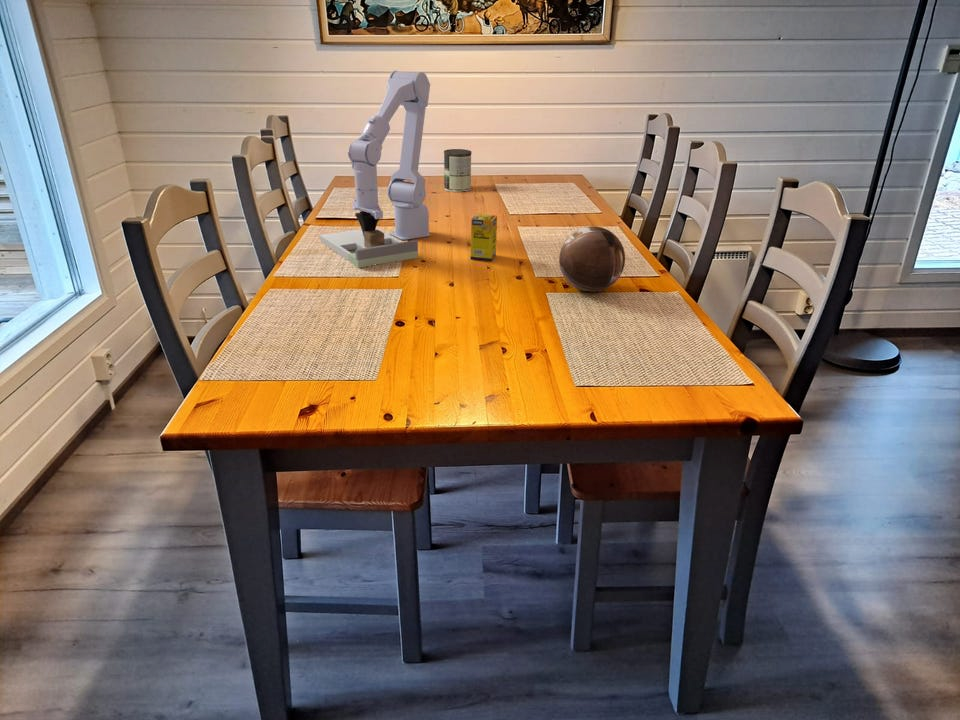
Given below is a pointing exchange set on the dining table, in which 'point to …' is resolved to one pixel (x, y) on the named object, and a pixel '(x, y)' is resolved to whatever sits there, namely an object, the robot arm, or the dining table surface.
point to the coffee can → (457, 170)
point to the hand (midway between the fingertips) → (369, 239)
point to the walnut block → (373, 238)
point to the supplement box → (483, 237)
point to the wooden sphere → (592, 259)
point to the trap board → (369, 248)
